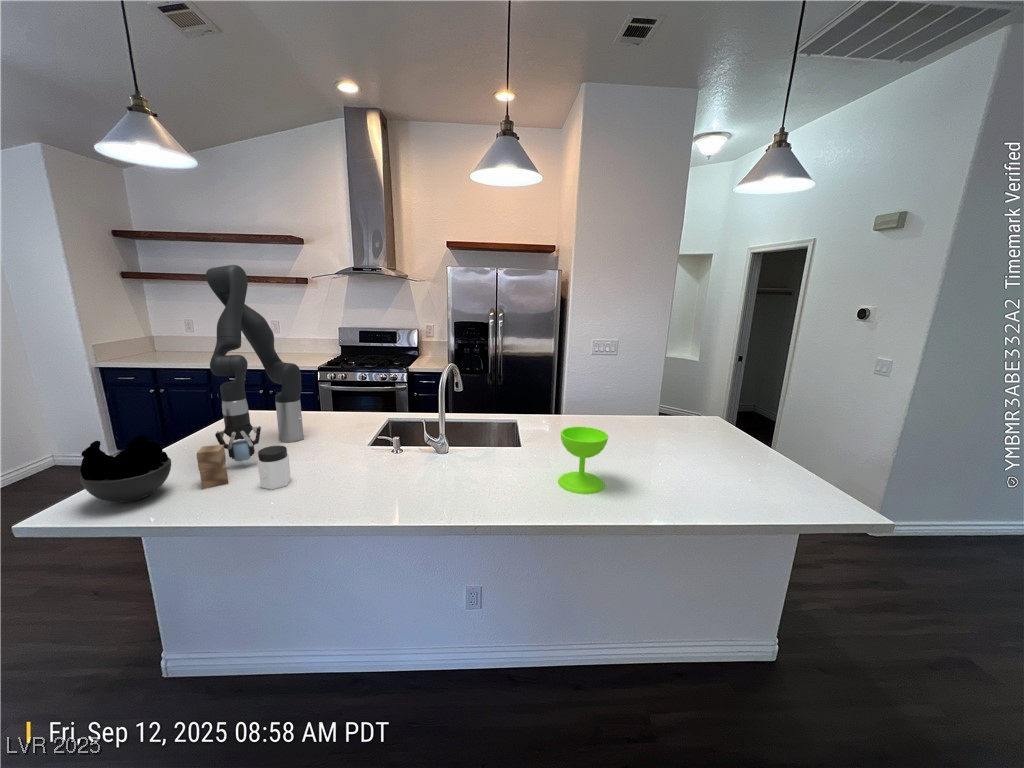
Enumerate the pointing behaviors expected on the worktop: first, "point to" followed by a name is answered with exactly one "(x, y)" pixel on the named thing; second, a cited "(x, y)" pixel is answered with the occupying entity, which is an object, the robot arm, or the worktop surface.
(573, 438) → the wineglass
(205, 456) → the tower mid
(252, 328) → the robot arm
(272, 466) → the jar
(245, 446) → the blue grey cylinder
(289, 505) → the worktop surface
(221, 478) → the tower base
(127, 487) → the coal bowl
